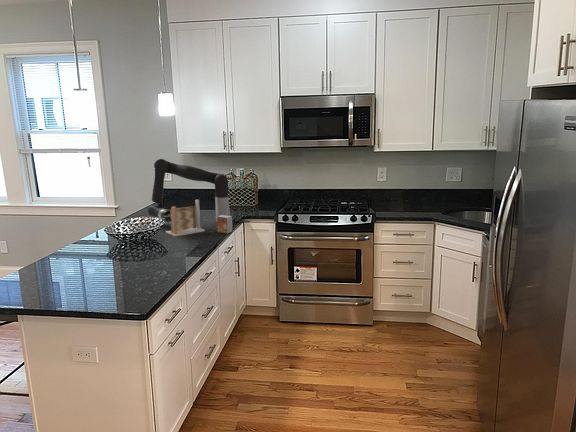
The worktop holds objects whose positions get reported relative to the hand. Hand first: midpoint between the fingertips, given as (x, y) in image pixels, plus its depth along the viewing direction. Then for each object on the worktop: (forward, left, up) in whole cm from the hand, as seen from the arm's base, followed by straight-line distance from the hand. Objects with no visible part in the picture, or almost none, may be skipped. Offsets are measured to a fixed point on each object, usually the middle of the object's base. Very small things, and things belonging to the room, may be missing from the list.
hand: (177, 219), depth 287 cm
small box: (-24, +17, -9) cm, 31 cm away
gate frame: (-5, 0, -9) cm, 10 cm away
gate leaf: (-4, +1, -7) cm, 8 cm away
